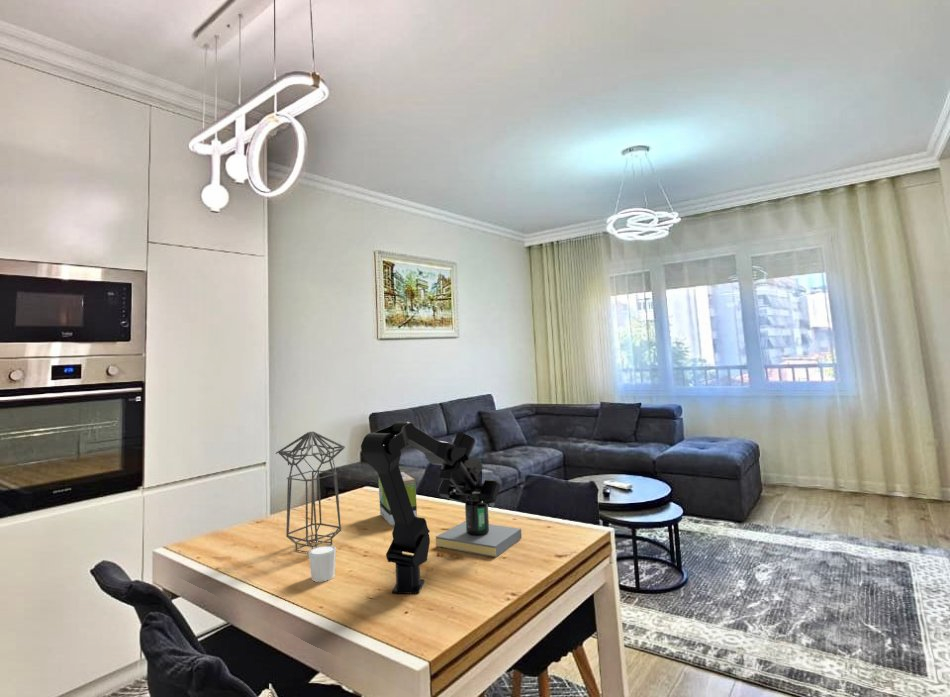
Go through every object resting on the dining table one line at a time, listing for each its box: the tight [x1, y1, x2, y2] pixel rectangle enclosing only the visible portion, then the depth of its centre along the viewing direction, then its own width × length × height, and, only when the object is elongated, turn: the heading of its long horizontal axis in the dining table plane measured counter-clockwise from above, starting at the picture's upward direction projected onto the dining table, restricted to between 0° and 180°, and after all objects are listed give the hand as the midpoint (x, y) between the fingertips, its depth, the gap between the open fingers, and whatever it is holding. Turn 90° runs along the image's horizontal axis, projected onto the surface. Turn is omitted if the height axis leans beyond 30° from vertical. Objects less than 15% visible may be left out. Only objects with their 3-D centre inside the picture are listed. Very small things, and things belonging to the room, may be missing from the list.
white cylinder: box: [307, 545, 337, 583], centre depth 126 cm, size 7×7×7 cm
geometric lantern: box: [275, 431, 346, 554], centre depth 149 cm, size 16×16×35 cm
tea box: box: [377, 471, 418, 526], centre depth 175 cm, size 15×10×15 cm
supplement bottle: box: [464, 492, 490, 536], centre depth 146 cm, size 7×7×12 cm
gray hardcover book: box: [435, 520, 523, 558], centre depth 145 cm, size 16×20×3 cm
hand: (480, 503), depth 147 cm, fingers open, 9 cm apart
